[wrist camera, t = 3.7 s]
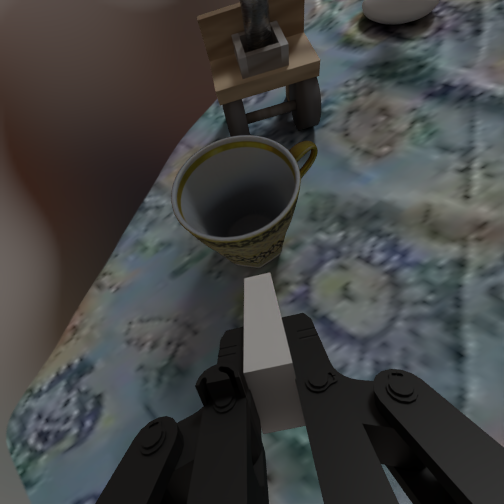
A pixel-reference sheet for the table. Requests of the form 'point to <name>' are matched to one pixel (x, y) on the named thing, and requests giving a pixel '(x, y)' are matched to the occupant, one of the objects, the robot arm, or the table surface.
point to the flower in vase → (397, 10)
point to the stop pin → (256, 23)
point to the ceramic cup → (241, 196)
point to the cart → (263, 65)
